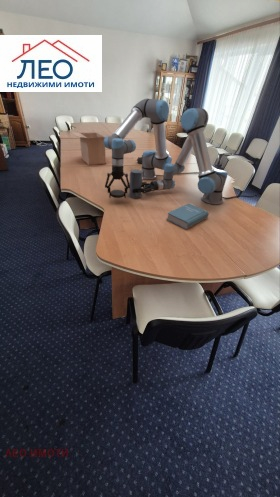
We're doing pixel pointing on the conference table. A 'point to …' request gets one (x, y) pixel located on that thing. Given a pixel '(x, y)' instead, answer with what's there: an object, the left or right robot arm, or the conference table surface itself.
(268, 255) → the conference table surface
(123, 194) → the lid
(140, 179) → the jar
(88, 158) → the box
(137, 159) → the laser sight
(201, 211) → the book
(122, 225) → the conference table surface
